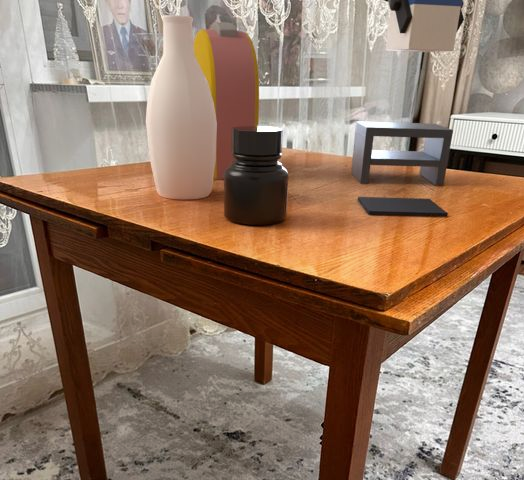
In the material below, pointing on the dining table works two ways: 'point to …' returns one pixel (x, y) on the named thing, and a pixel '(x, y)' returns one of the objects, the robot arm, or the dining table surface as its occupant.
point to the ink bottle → (256, 177)
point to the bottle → (181, 117)
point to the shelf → (428, 160)
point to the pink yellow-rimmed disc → (229, 83)
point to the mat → (401, 207)
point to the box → (426, 27)
